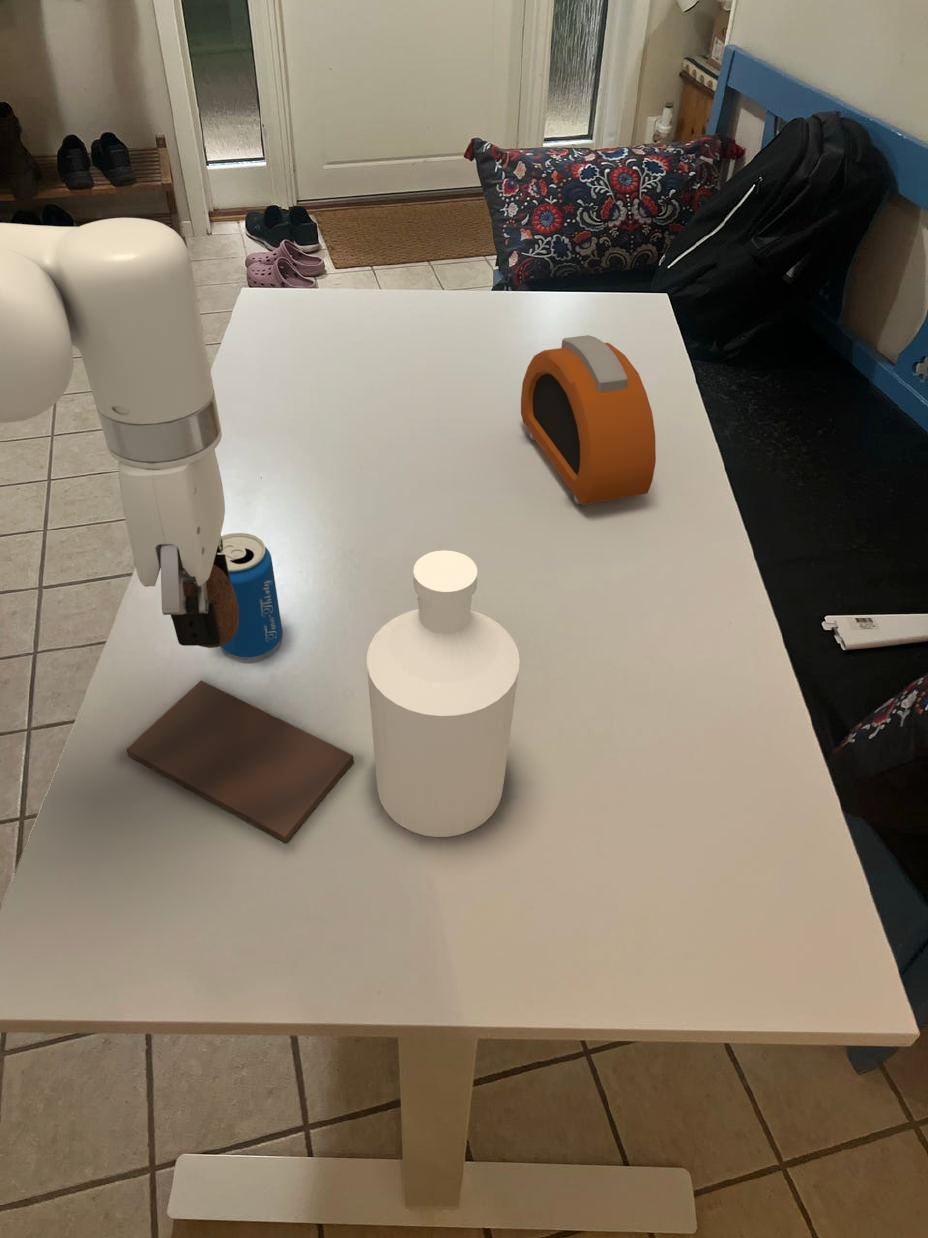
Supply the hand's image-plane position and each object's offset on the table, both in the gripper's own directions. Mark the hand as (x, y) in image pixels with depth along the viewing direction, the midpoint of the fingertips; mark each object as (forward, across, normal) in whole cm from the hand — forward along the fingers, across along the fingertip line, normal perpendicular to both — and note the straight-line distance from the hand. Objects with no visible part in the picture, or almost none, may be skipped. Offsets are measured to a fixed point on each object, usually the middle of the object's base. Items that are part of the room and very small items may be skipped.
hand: (206, 615), depth 72 cm
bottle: (+16, +5, +19) cm, 25 cm away
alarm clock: (+16, -46, +39) cm, 62 cm away
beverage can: (+16, -13, 0) cm, 21 cm away
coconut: (+3, 0, 0) cm, 3 cm away
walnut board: (+16, +2, +1) cm, 16 cm away
